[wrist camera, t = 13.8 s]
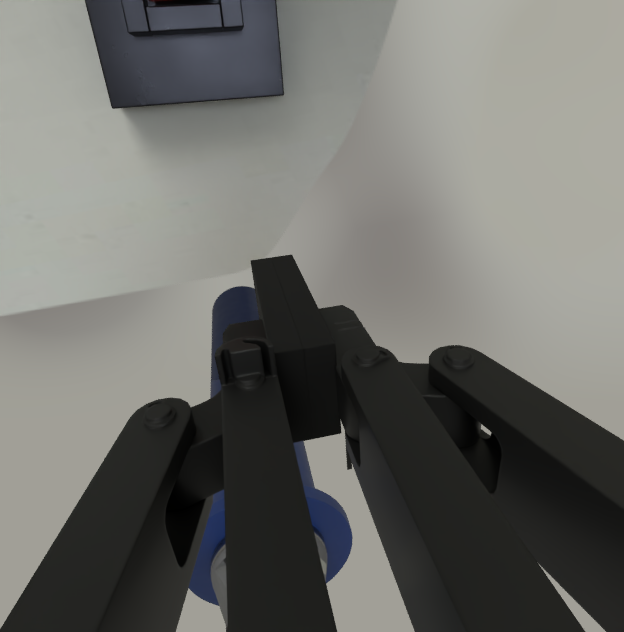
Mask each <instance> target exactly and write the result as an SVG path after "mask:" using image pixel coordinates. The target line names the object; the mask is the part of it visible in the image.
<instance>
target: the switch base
mask: <svg viewBox="0 0 624 632" xmlns="http://www.w3.org/2000/svg"><path fill="white" fill-rule="evenodd" d="M85 3H86V7H87V11H88V15H89V19H90V23H91V27H92V31H93V35H94V39H95V43H96V46H97V50H98V54H99V58H100V62H101V66H102V70H103V74H104V78H105V82H106V86H107V90H108V94H109V98H110V102H111V106H112V108H113V109H115V108H128V107H141V106H154V105H166V104H179V103H192V102H205V101H218V100H231V99H244V98H256V97H269V96H282V95H284V88H283V77H282V65H281V53H280V41H279V29H278V17H277V5H276V0H173V1H152V2H150V1H149V0H85Z"/></svg>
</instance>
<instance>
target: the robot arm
mask: <svg viewBox="0 0 624 632" xmlns="http://www.w3.org/2000/svg"><path fill="white" fill-rule="evenodd" d="M251 266H252V273H253V280H254V286H255V293H256V299H257V306H258V312H259V319H260V320H254V321H248V322H242V323H236V324H229V326H228V327H227V329H226V330H225V331H224V333H223V344H222V345H221V346H220V347H219V348H218V349H217V351H216V353H215V360H216V364H217V369H218V374H219V378H220V383H221V390H220V391H219V392H218V393H217V394H216V395H215V396H214V397H212V398H211V399H209V400H207V401H205V402H203V403H201V404H199V405H196V406H194V407H190V406H189V404H188V402H186V401H184V400H182V399H178V398H165V399H159V400H156V401H153V402H151V403H148V404H146V405H144V406H143V407H141V408H140V409H138V410H137V411H136V412H135V413H134V414H133V415H132V416H131V417H130V419H129V420H128V422H127V423H126V425H125V427H124V428H123V430H122V432H121V433H120V435H119V437H118V438H117V440H116V441H115V443H114V445H113V446H112V448H111V450H110V451H109V453H108V454H107V456H106V458H105V459H104V461H103V463H102V464H101V466H100V467H99V469H98V471H97V472H96V474H95V476H94V477H93V479H92V480H91V482H90V484H89V485H88V487H87V489H86V490H85V492H84V494H83V495H82V497H81V499H80V500H79V502H78V503H77V505H76V507H75V509H74V510H73V511H72V513H71V515H70V516H69V518H68V520H67V521H66V523H65V525H64V526H63V528H62V529H61V531H60V533H59V534H58V536H57V538H56V539H55V541H54V542H53V544H52V546H51V547H50V549H49V551H48V552H47V554H46V555H45V557H44V559H43V561H42V562H41V564H40V566H39V567H38V569H37V570H36V572H35V573H34V575H33V577H32V578H31V580H30V582H29V583H28V585H27V587H26V588H25V590H24V591H23V593H22V595H21V596H20V598H19V600H18V601H17V603H16V605H15V606H14V608H13V609H12V611H11V613H10V614H9V616H8V617H7V619H6V621H5V622H4V624H3V626H2V627H1V629H0V632H176V628H177V625H178V621H179V618H180V615H181V611H182V608H183V604H184V601H185V597H186V594H187V591H188V587H189V584H190V580H191V577H192V573H193V570H194V566H195V563H196V559H197V556H198V552H199V549H200V546H201V542H202V539H203V535H204V532H205V528H206V525H207V521H208V518H209V514H210V511H211V507H212V504H213V495H214V494H216V493H218V492H220V491H222V490H224V508H225V538H224V539H222V540H221V542H220V543H219V544H218V545H217V547H216V548H215V550H214V552H213V554H212V558H211V581H212V586H213V589H214V592H215V594H216V597H217V600H218V603H219V606H220V609H221V612H222V614H223V618H224V620H225V623H226V632H337V629H336V625H335V621H334V616H333V612H332V608H331V603H330V599H329V595H328V590H327V586H326V573H327V550H326V546H325V542H324V539H323V536H322V535H321V533H320V532H319V531H318V530H317V529H316V528H315V527H314V526H312V521H311V517H310V513H309V509H308V504H307V500H306V496H305V491H304V487H303V483H302V478H301V474H300V470H299V465H298V461H297V457H296V452H295V448H294V444H293V443H295V442H300V441H305V440H310V439H315V438H320V437H325V436H330V435H335V434H340V433H341V423H340V419H341V421H342V424H343V426H344V429H345V439H346V453H347V454H346V455H347V469H352V464H353V467H354V469H355V472H356V475H357V477H358V480H359V483H360V485H361V488H362V491H363V493H364V496H365V499H366V501H367V504H368V507H369V510H370V512H371V515H372V518H373V520H374V523H375V526H376V528H377V531H378V534H379V537H380V539H381V542H382V545H383V547H384V550H385V553H386V555H387V558H388V560H389V563H390V566H391V569H392V571H393V574H394V577H395V580H396V582H397V585H398V588H399V590H400V593H401V596H402V598H403V601H404V604H405V606H406V609H407V612H408V614H409V617H410V620H411V623H412V625H413V628H414V631H415V632H585V631H584V630H583V628H582V626H581V625H580V624H579V622H578V621H577V619H576V618H575V616H574V615H573V614H572V612H571V610H570V609H569V608H568V606H567V605H566V603H565V602H564V600H563V599H562V597H561V596H560V595H559V593H558V592H557V590H556V589H555V587H554V586H553V584H552V583H551V582H550V580H549V579H548V577H547V576H546V574H545V573H544V571H543V570H542V569H541V567H540V566H539V564H540V565H541V566H542V567H543V568H544V569H545V570H546V571H547V572H548V573H549V574H550V575H551V576H552V577H553V578H554V579H555V580H556V581H557V582H558V583H559V584H560V586H561V587H563V588H564V589H565V591H567V593H568V594H569V595H570V596H572V597H573V599H574V600H576V602H577V603H578V604H580V605H581V607H583V609H584V610H585V611H586V612H587V613H588V614H589V615H591V617H592V618H593V619H594V620H596V622H597V623H598V624H600V626H601V627H602V628H603V629H604V630H605V631H606V632H624V441H623V440H622V439H620V438H619V437H617V436H615V435H614V434H612V433H610V432H609V431H607V430H606V429H604V428H602V427H601V426H599V425H598V424H596V423H594V422H593V421H591V420H589V419H588V418H586V417H585V416H583V415H581V414H580V413H578V412H576V411H575V410H573V409H572V408H570V407H568V406H567V405H565V404H564V403H562V402H560V401H559V400H557V399H555V398H554V397H552V396H551V395H549V394H547V393H546V392H544V391H542V390H541V389H539V388H538V387H536V386H534V385H533V384H531V383H530V382H528V381H526V380H525V379H523V378H521V377H520V376H518V375H516V374H515V373H513V372H511V371H510V370H508V369H507V368H505V367H504V366H502V365H500V364H499V363H497V362H496V361H494V360H492V359H491V358H489V357H487V356H486V355H484V354H483V353H481V352H479V351H477V350H475V349H472V348H469V347H464V346H460V345H455V346H454V345H451V346H445V347H440V348H438V349H436V350H434V351H433V352H432V353H431V355H430V356H429V364H414V363H402V362H398V360H397V359H396V357H395V356H394V355H393V354H392V353H391V352H390V351H389V350H387V349H385V348H382V347H380V346H376V345H375V343H374V342H373V340H372V339H371V337H370V336H369V334H368V333H367V331H366V330H365V328H364V327H363V325H362V323H361V322H360V321H359V319H358V318H357V316H356V314H355V313H354V311H352V310H351V309H349V308H347V307H345V306H343V305H340V306H334V307H328V308H321V309H318V307H317V305H316V303H315V301H314V299H313V297H312V295H311V293H310V291H309V289H308V286H307V284H306V283H305V281H304V278H303V276H302V274H301V272H300V270H299V268H298V266H297V264H296V262H295V260H294V258H293V256H292V255H286V256H279V257H272V258H265V259H258V260H251ZM481 424H482V425H484V426H485V427H486V428H487V429H489V430H490V431H491V432H492V433H491V436H490V435H488V434H487V433H485V432H484V431H483V430H481ZM351 463H352V464H351ZM537 562H538V563H539V564H538V563H537Z"/></svg>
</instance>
